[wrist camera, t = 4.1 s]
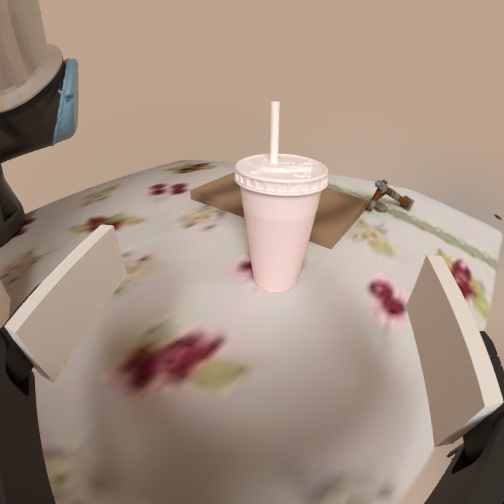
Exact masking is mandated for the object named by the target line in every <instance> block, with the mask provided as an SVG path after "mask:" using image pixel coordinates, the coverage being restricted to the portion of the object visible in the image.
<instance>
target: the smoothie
mask: <svg viewBox="0 0 504 504" xmlns="http://www.w3.org/2000/svg"><path fill="white" fill-rule="evenodd" d="M279 113H280V101H271V134H270V135H271V136H270V154H260V155H254V156H250V157H246V158H244V159H241V160H240V161H238V162H237V163H236V165H235V181H236V183H237V184H238V185H239V186H240V189H241V197H242V205H243V210H244V217H245V224H246V230H247V237H248V244H249V251H250V257H251V264H252V271H253V277H254V282H255V283H256V285H257V286H258V287H259V288H261V289H263V290H265V291H268V292H273V293H280V292H286V291H288V290H291V289H292V288H293V287H295V285H296V284H297V281H298V278H299V274H300V271H301V267H302V264H303V260H304V256H305V253H306V249H307V246H308V242H309V238H310V234H311V231H312V227H313V223H314V219H315V215H316V211H317V208H318V204H319V199H320V195H321V191H322V190H323V189H325V188H326V187H327V185H328V180H327V178H328V169H327V168H326V166H325V165H323V164H322V163H320V162H318V161H316V160H313V159H310V158H307V157H303V156H298V155H290V154H278V147H279V115H280V114H279Z"/></svg>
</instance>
